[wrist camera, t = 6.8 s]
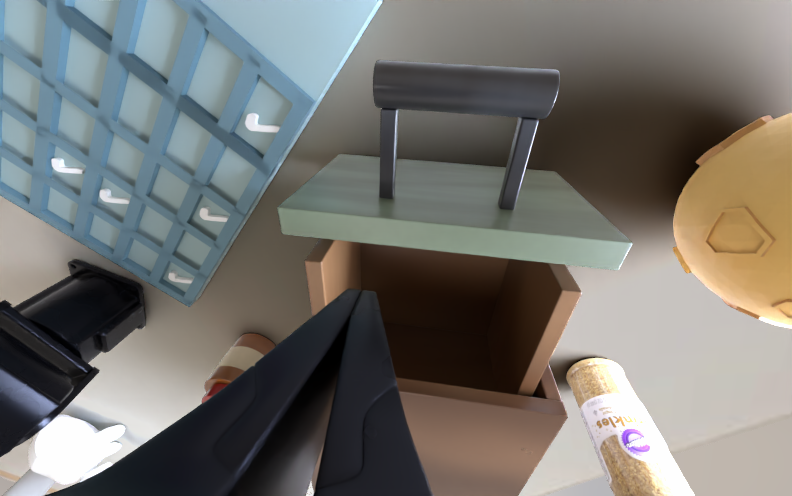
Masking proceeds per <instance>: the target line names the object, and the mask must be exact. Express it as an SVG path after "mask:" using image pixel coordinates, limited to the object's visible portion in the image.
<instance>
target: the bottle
mask: <svg viewBox="0 0 792 496" xmlns="http://www.w3.org/2000/svg"><path fill="white" fill-rule="evenodd" d="M54 483H55V481H53V480H52V479H50V478H49V477H46V476H43V475H41V474H38V473H36V472H33V471H32V470H31V469H29V470H28V471H27V472H26V473H25V474H24V475H23V476H22V477H21V478H20V479H19V480H18V481H17V482H16V483H15V484H14V485H13V486H12V487H11V488H10V489H9V490H8V491H6V492H5V493H4V494H3V495H2V496H43V495H44V494H45V493H46V492H47V491H48V490H49V489H50V487H51V486H52V485H53V484H54Z"/></svg>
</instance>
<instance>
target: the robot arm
mask: <svg viewBox="0 0 792 496" xmlns="http://www.w3.org/2000/svg"><path fill="white" fill-rule="evenodd" d="M68 266H69V270H70V274H71V275H70V276H68V277H67V278H65V279H63V280H61V281H60V282H58V283H56V284H54V285H52V286H51V287H49V288H47V289H45V290H44V291H42V292H40V293H38V294H36V295H35V296H33V297H31V298H29V299H28V300H26V301H24V302H22V303H20V304H19V305H17V306H15V307H11V304H10V303H9V302H7V301H6V300H4V301H2V302H0V457H1V456H3V455H4V454H6V453H8V452H10V451H11V450H12V449H13V448H14V447H16V446H18V445H20V444H22V443H23V442H25V441H26V440H28V439H29V438H31V437H32V436H34V435H35V434H36V433H38V432H39V431H40V430H42V429H43V428H44V427H45V426H47V425H48V424H49V423H50V422H51V421H52V420H53V419H55V418H56V417H57V416H58V415H59V414H60V413H61V412H62V411H63V410H64V409H65V408H66V407H67V405H68V404H69V403H70V402H71V401H72V400H73V399H74V398H75V397H76V396H77V395H78V394H79V393H80V392H81V391H82V390H83V388H84V387H85V386H86V385H87V384H88V383H89V382H90V381H91V380H92V379H93V378H94V377H95V376H96V375H97V374H98V373H99V371H100V370H98V369H97V368H96V367H92V366H91V365H89V364H88V363H89V362H90V361H91V360H92V359H94V358H95V357H96V356H97V355H98V354H99V353H101V352H104V353H106V352H109V351H110V350H111V349H112V348H114V347H115V346H116V345H117V344H118V343H119V342H121V341H122V340H123V339H124V338H125V337H126V336H128V335H129V334H130V333H131V332H132V331H133V330H135V329H136V328H138V329H142V328H143V327H144V326H146V322H145V311H144V300H143V289H142V286H141V285H140V284H138V283H136V282H134V281H131V280H129V279H126V278H123V277H121V276H118V275H115V274H113V273H110V272H107V271H105V270H102V269H100V268H97V267H94V266H92V265H89V264H86V263H84V262H81V261H79V260H72V261H70V262H68ZM323 444H324V446H323ZM322 447H323V451H322V456H321V461H320V466H319V471H318V476H317V481H316V485H315V492H314V496H434V495H433V492H432V490H431V487H430V484H429V482H428V479H427V477H426V474H425V471H424V469H423V466H422V463H421V461H420V458H419V455H418V453H417V450H416V447H415V444H414V441H413V439H412V436H411V433H410V430H409V427H408V424H407V420H406V417H405V413H404V409H403V405H402V402H401V398H400V393H399V389H398V387H397V381H396V377H395V372H394V368H393V363H392V359H391V355H390V350H389V346H388V342H387V337H386V333H385V329H384V324H383V320H382V316H381V311H380V307H379V303H378V298H377V294H376V292H374V291H367V290H363V291H362V292H361V290H358V289H350V288H349V289H346V290H345V291H344V292H342V293H341V294H340V295H339V296H337V297H336V298H335V299H334V300H333V301H331V302H330V303H329V304H328V305H326V306H325V307H324V308H323V309H321V310H320V311H319V312H318V313H316V314H315V315H314V316H313V317H312V318H310V319H309V320H308V321H307V322H305V323H304V324H303V325H302V326H300V327H299V328H298V329H297V330H295V331H294V332H293V333H292V334H291V335H289V336H288V337H287V338H286V339H284V340H283V341H282V342H281V343H279V344H278V345H277V346H276V347H274V348H273V349H272V350H271V351H270V352H268V353H267V354H266V355H265V356H263V357H262V358H261V359H260V360H258V361H257V362H256V363H255V367H254V366H251V367H250V368H248V369H247V370H246V371H245V372H243V373H242V374H241V375H240V376H238V377H237V378H236V379H235V380H233V381H232V382H231V383H229V384H228V385H227V386H226V387H224V388H223V389H222V390H220V391H219V392H218V393H216V394H215V395H214V396H212V397H211V398H209V399H208V400H207V401H205V402H204V403H202V404H201V405H200V406H198V407H197V408H195V409H194V410H193V411H191V412H190V413H188V414H187V415H185V416H184V417H182V418H181V419H179V420H178V421H177V422H175V423H174V424H172V425H171V426H169V427H168V428H166V429H165V430H163V431H162V432H160V433H159V434H158V435H156V436H155V437H153V438H152V439H150V440H149V441H147V442H146V443H144V444H143V445H141V446H140V447H139V448H137V449H136V450H134V451H133V452H131V453H130V454H128V455H127V456H125V457H124V458H122V459H121V460H119V461H118V462H116V463H115V464H113V465H111V466H110V467H108V468H106V469H105V470H103V471H101V472H99V473H98V474H96V475H94V476H92V477H90V478H88V479H86V480H84V481H81V482H79V483H77V484H75V485H72V486H70V487H67V488H65V489H62V490H59V491H57V492H54V493H51V494H48V495H45V496H306V493H307V490H308V487H309V484H310V481H311V478H312V476H313V473H314V470H315V467H316V464H317V461H318V458H319V456H320V453H321V450H322Z"/></svg>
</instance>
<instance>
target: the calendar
mask: <svg viewBox="0 0 792 496" xmlns="http://www.w3.org/2000/svg"><path fill="white" fill-rule="evenodd" d="M382 2H383V1H382V0H0V196H2V197H4V198H6V199H7V200H9V201H11V202H12V203H14V204H16V205H17V206H19V207H21V208H22V209H24V210H26V211H28V212H29V213H31V214H32V215H34V216H36V217H38V218H39V219H41V220H43V221H44V222H46V223H48V224H50V225H51V226H53V227H55V228H56V229H58V230H60V231H61V232H63V233H65V234H66V235H68V236H70V237H72V238H73V239H75V240H76V241H78V242H80V243H82V244H83V245H85V246H87V247H88V248H90V249H92V250H94V251H95V252H97V253H99V254H100V255H102V256H104V257H105V258H107V259H109V260H110V261H112V262H114V263H115V264H117V265H119V266H121V267H122V268H124V269H126V270H127V271H129V272H131V273H132V274H134V275H136V276H138V277H139V278H141V279H143V280H144V281H146V282H148V283H149V284H151V285H153V286H154V287H156V288H158V289H160V290H161V291H163V292H165V293H166V294H168V295H170V296H171V297H173V298H175V299H176V300H178V301H180V302H181V303H183V304H185V305H186V306H188V307H190V306H191V305H192V304H193V303H194V302H195V301H196V300H197V299H198V298H199V297H200V296H201V294H202V292H203V291H204V289H205V288H206V286H207V284H208V283H209V281H210V279H211V278H212V276H213V275H214V273H215V271H216V270H217V268H218V267H219V265H220V263H221V262H222V260H223V259H224V257H225V255H226V254H227V252H228V250H229V249H230V247H231V246H232V244H233V242H234V241H235V239H236V238H237V236H238V234H239V233H240V231H241V229H242V228H243V226H244V225H245V223H246V221H247V220H248V218H249V217H250V215H251V213H252V212H253V210H254V209H255V207H256V205H257V204H258V202H259V200H260V199H261V197H262V196H263V194H264V192H265V191H266V189H267V188H268V186H269V184H270V183H271V181H272V179H273V178H274V176H275V175H276V173H277V171H278V170H279V168H280V167H281V165H282V163H283V162H284V160H285V159H286V157H287V155H288V154H289V152H290V150H291V149H292V147H293V146H294V144H295V142H296V141H297V139H298V138H299V136H300V134H301V133H302V131H303V129H304V128H305V126H306V125H307V123H308V121H309V120H310V118H311V117H312V115H313V113H314V112H315V110H316V109H317V107H318V105H319V104H320V102H321V100H322V99H323V97H324V96H325V94H326V92H327V91H328V89H329V88H330V86H331V84H332V83H333V81H334V79H335V78H336V76H337V75H338V73H339V71H340V70H341V68H342V67H343V65H344V63H345V62H346V60H347V59H348V57H349V55H350V54H351V52H352V50H353V49H354V47H355V46H356V44H357V42H358V41H359V39H360V38H361V36H362V34H363V33H364V31H365V29H366V28H367V26H368V25H369V23H370V21H371V20H372V18H373V17H374V15H375V13H376V12H377V10H378V9H379V7H380V5H381V4H382Z"/></svg>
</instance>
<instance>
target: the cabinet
mask: <svg viewBox="0 0 792 496" xmlns="http://www.w3.org/2000/svg"><path fill="white" fill-rule="evenodd" d="M396 381H397V387H398V389H399V393H400V398H401V402H402V405H403V409H404V413H405V417H406V420H407V424H408V427H409V430H410V433H411V436H412V439H413V441H414V444H415V447H416V450H417V453H418V455H419V458H420V461H421V463H422V466H423V469H424V471H425V474H426V477H427V479H428V482H429V484H430V487H431V490H432V492H433V495H434V496H518V495H519V493H520V492H521V490H522V489H523V487H524V486H525V484H526V482H527V481H528V479H529V478H530V476H531V474H532V473H533V471H534V470H535V468H536V467H537V465H538V463H539V462H540V460H541V459H542V457H543V456H544V454H545V452H546V451H547V449H548V448H549V446H550V445H551V443H552V441H553V440H554V438H555V437H556V435H557V434H558V432H559V430H560V429H561V427H562V426H563V424H564V423H565V421H566V419H567V418H568V415H567V412H566V409H565V406H564V404H563V402H562V399H561V396H560V393H559V390H558V387H557V385H556V382H555V379H554V376H553V374H552V371H551V368H550V365H549V363H548V364H547V366H546V368H545V370H544V372H543V374H542V377H541V379H540V381H539V383H538V385H537V387H536V389H535V391H534V393H533V395H532V397H528V396H521V395H515V394H508V393H501V392H494V391H487V390H481V389H474V388H467V387H460V386H453V385H446V384H440V383H433V382H426V381H419V380H412V379H405V378H399V377H396ZM323 446H324V444H323ZM322 451H323V447H322V450H321V453H320V456H319V458H318V461H317V464H316V467H315V470H314V473H313V476H312V478H311V481H312V485H313V490H314V492H315V485H316V481H317V476H318V471H319V466H320V461H321V456H322Z"/></svg>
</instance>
